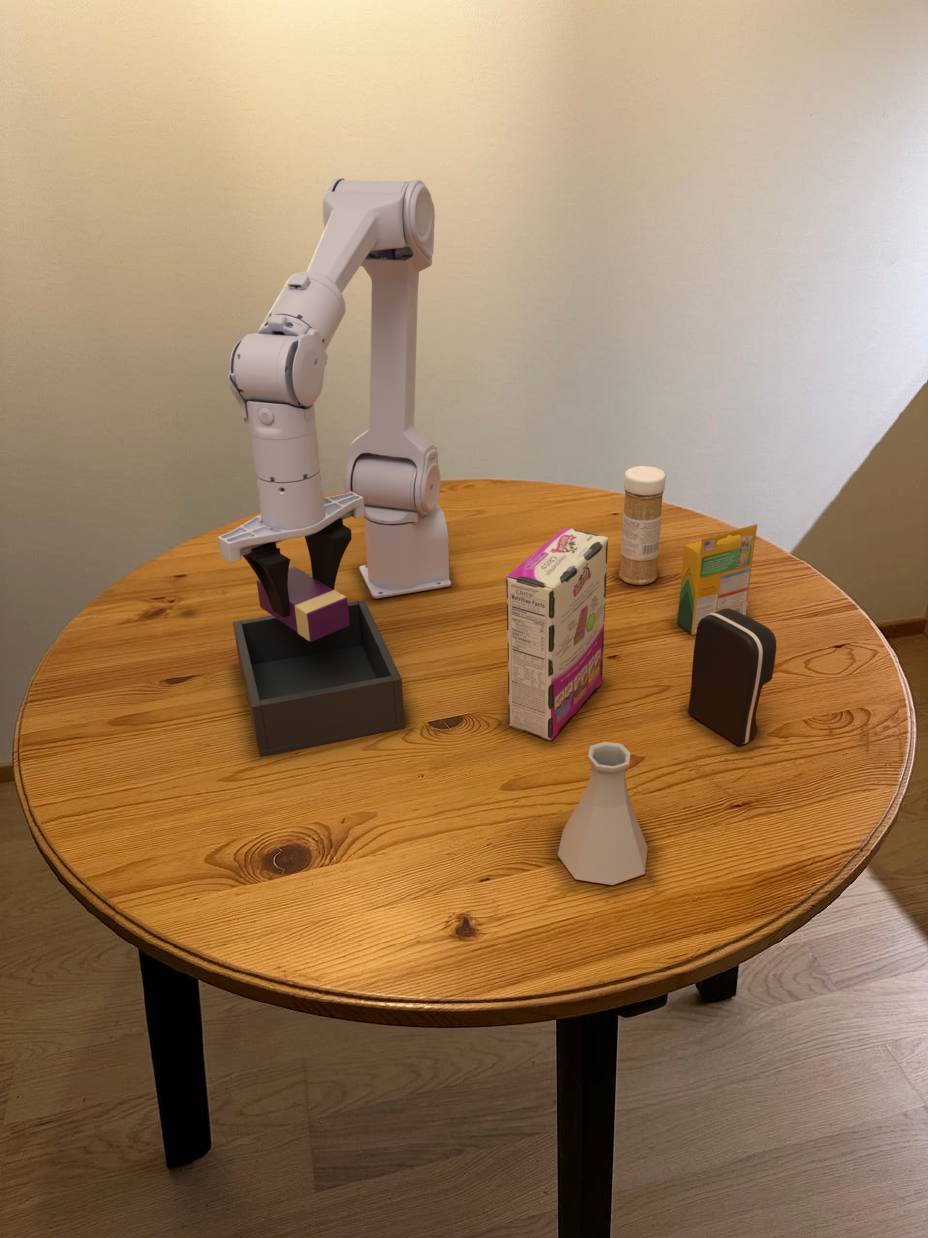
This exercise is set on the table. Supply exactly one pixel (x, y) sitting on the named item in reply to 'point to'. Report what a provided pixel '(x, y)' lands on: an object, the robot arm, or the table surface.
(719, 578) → the crayon box
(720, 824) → the table surface
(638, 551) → the spice jar
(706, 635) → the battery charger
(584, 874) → the flask
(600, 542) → the candy bar box
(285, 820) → the table surface
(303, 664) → the open storage bin
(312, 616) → the chocolate bar
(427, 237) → the robot arm
